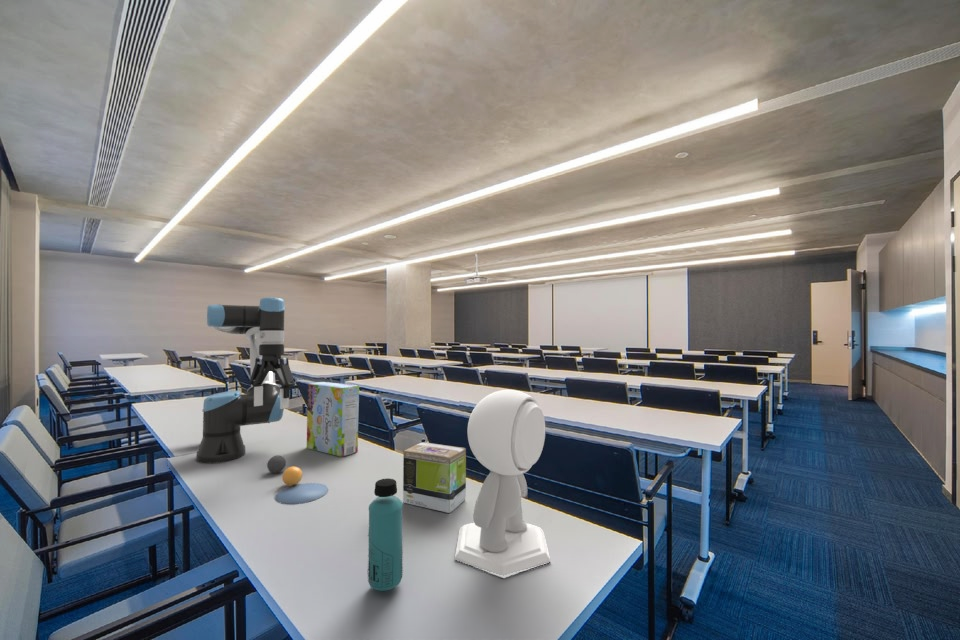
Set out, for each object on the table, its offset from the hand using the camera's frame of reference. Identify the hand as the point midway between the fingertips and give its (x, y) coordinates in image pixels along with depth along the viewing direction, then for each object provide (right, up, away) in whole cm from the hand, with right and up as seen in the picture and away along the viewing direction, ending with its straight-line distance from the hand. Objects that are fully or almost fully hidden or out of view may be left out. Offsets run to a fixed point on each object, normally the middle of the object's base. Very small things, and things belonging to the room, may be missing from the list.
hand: (271, 407), depth 133 cm
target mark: (+18, -21, -18) cm, 33 cm away
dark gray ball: (+3, -18, -2) cm, 19 cm away
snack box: (+12, -22, +22) cm, 33 cm away
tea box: (+57, -22, -22) cm, 65 cm away
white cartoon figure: (+75, -22, -44) cm, 90 cm away
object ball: (+13, -18, -12) cm, 25 cm away
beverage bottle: (+52, -21, -59) cm, 81 cm away
